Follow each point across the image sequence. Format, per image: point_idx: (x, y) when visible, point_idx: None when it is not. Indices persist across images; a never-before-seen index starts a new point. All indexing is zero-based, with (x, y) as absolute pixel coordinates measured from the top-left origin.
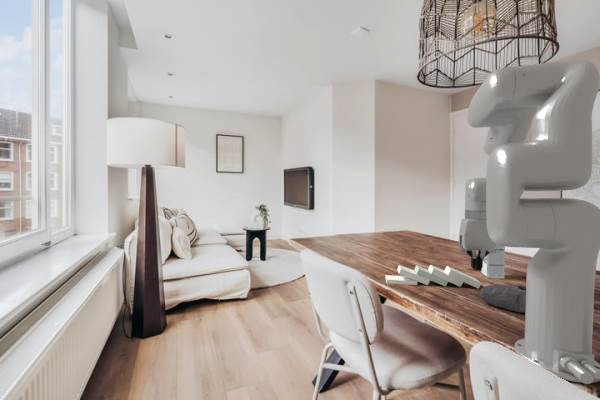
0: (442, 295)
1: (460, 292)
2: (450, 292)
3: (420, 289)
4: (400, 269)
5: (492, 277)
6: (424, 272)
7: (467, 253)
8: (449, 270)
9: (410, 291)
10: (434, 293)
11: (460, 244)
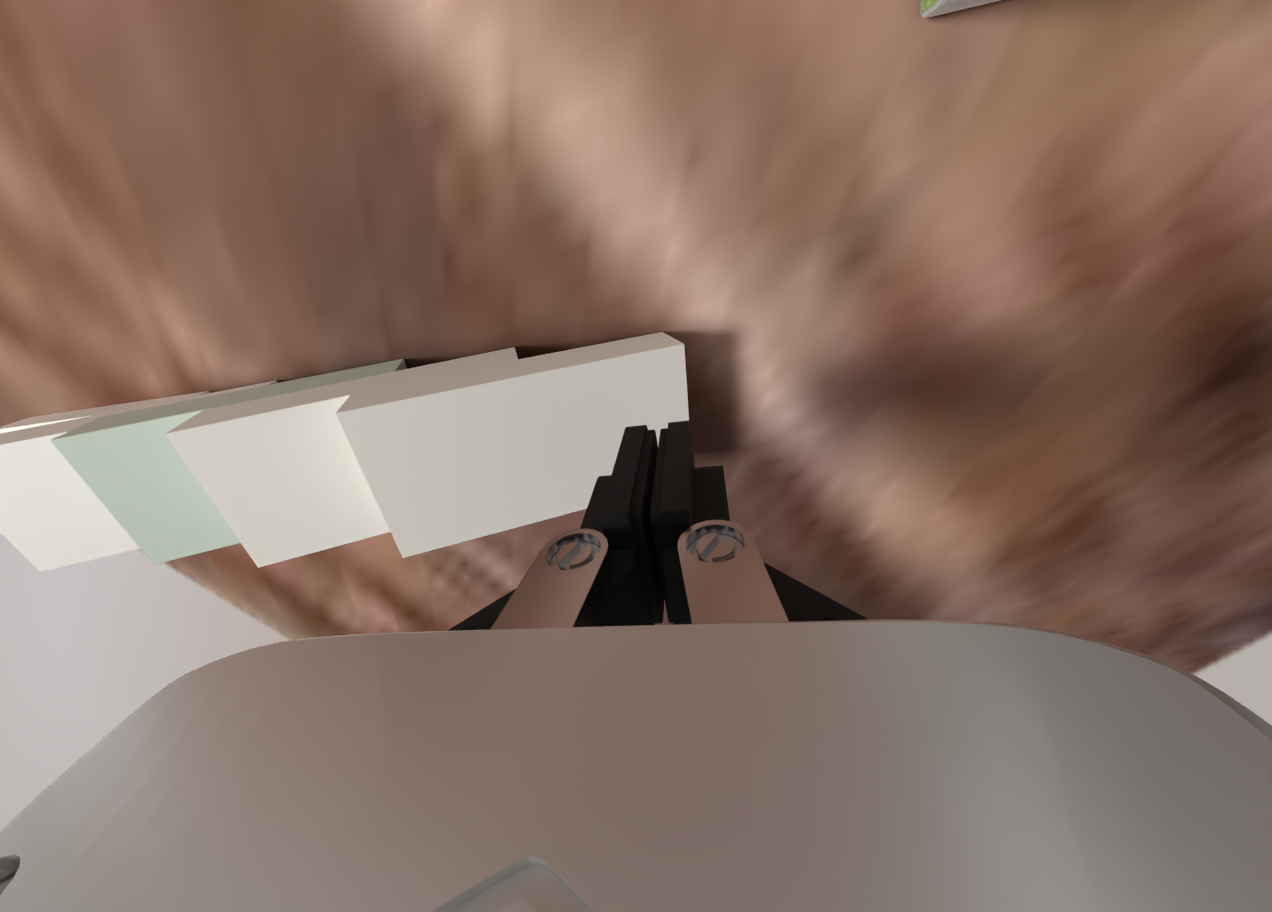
0: (445, 609)
1: (539, 551)
2: (482, 563)
3: (318, 555)
4: (42, 558)
5: (993, 1)
6: (225, 540)
7: (486, 625)
8: (396, 528)
9: (283, 592)
10: (402, 593)
11: (181, 678)
